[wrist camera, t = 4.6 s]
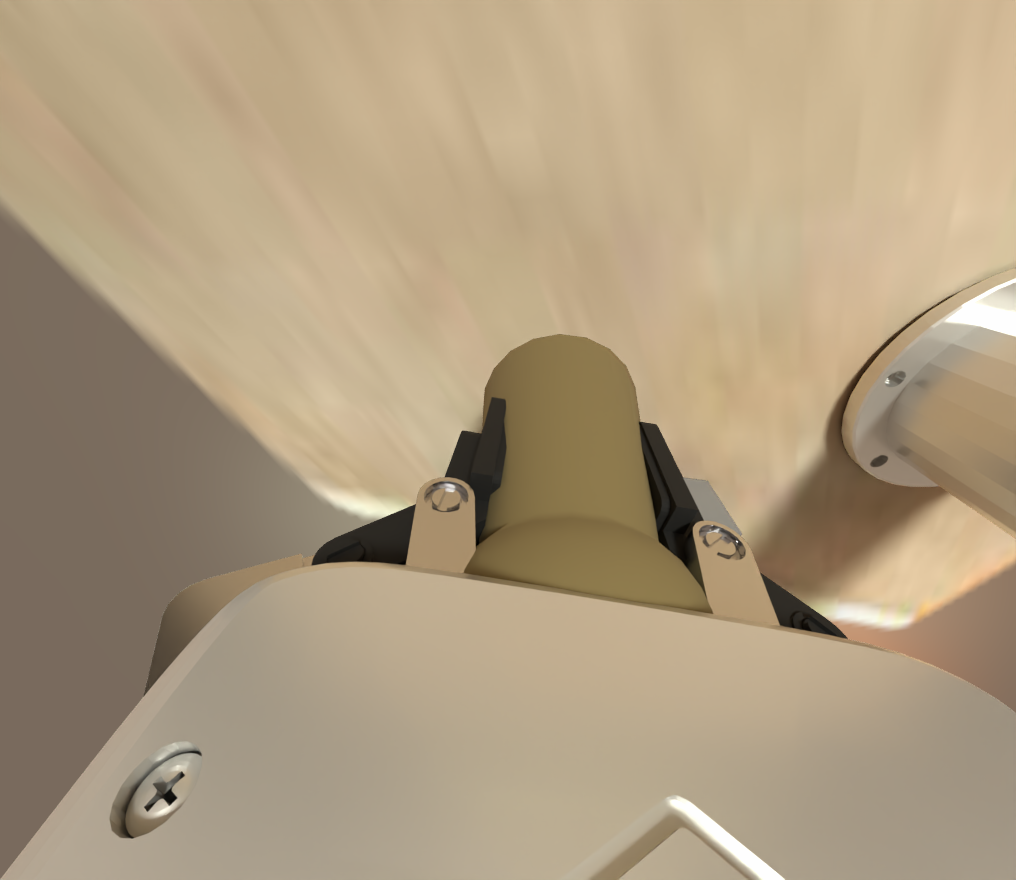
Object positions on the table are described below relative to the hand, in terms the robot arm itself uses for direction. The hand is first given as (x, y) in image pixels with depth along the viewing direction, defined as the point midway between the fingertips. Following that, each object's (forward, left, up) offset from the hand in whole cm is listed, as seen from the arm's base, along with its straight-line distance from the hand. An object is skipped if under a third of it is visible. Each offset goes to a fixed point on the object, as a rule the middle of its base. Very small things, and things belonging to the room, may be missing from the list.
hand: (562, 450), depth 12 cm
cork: (0, 0, -3) cm, 3 cm away
